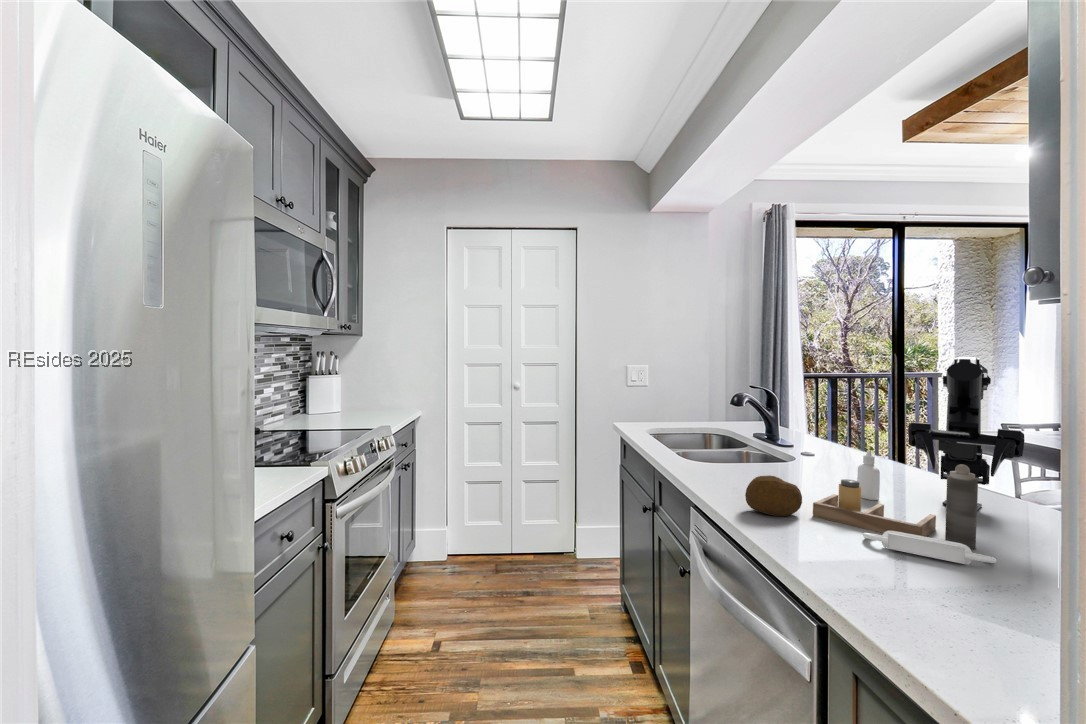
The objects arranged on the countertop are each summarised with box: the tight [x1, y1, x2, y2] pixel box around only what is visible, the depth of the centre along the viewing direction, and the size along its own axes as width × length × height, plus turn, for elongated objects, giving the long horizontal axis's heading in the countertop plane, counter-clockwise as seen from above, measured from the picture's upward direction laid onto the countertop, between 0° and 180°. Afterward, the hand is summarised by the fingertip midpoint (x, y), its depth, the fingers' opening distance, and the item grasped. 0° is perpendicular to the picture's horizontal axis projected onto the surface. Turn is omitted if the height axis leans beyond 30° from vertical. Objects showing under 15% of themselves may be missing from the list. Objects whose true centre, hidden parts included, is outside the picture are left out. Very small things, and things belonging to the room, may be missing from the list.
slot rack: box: [812, 493, 937, 537], centre depth 113 cm, size 11×20×3 cm, turn 40°
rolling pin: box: [862, 531, 997, 565], centre depth 97 cm, size 20×8×4 cm, turn 52°
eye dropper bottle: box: [856, 450, 881, 501], centre depth 132 cm, size 4×6×12 cm
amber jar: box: [838, 478, 862, 512], centre depth 117 cm, size 4×4×8 cm
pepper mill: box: [944, 464, 979, 551], centre depth 100 cm, size 5×5×16 cm
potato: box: [744, 475, 803, 517], centre depth 118 cm, size 8×12×9 cm
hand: (962, 471), depth 105 cm, fingers open, 9 cm apart
